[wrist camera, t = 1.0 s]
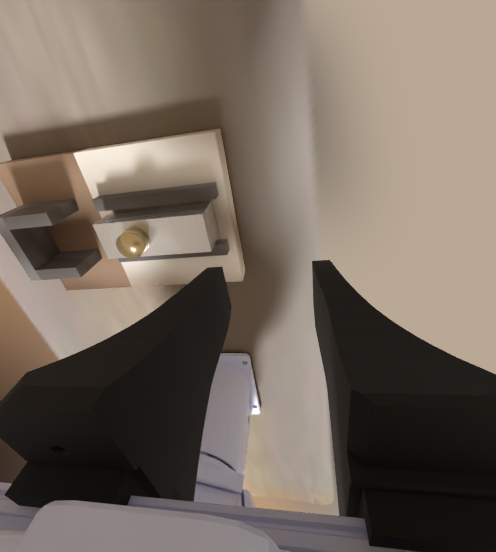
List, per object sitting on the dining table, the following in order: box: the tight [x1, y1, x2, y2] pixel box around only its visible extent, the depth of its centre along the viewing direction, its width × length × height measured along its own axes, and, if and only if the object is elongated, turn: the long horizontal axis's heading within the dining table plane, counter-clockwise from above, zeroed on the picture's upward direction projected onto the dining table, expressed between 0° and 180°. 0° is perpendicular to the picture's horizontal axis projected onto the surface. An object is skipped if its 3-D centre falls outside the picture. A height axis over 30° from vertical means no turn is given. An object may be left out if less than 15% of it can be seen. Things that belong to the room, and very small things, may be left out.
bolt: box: [93, 201, 219, 259], centre depth 18 cm, size 2×7×3 cm, turn 99°
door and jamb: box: [0, 128, 245, 290], centre depth 19 cm, size 10×15×4 cm, turn 99°
